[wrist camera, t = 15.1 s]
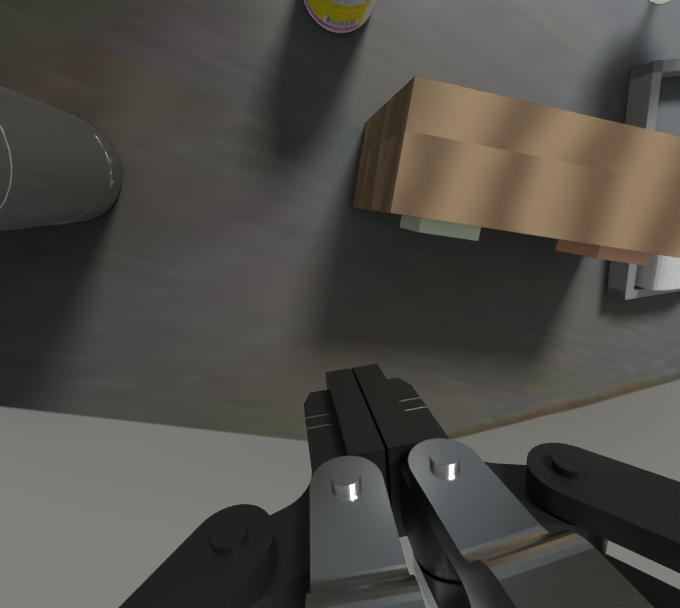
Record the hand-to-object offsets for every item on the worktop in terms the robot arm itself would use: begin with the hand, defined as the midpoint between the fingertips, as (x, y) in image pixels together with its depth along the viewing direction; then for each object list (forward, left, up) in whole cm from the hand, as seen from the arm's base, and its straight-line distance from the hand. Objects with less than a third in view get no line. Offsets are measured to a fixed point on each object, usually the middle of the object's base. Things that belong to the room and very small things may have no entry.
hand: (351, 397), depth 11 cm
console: (+20, +4, -29) cm, 35 cm away
